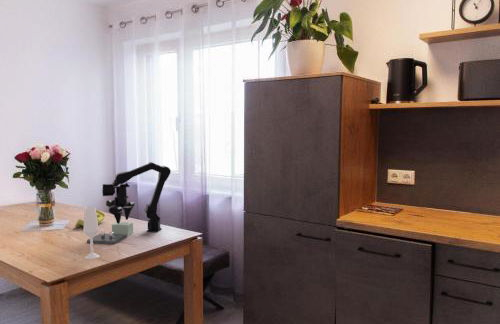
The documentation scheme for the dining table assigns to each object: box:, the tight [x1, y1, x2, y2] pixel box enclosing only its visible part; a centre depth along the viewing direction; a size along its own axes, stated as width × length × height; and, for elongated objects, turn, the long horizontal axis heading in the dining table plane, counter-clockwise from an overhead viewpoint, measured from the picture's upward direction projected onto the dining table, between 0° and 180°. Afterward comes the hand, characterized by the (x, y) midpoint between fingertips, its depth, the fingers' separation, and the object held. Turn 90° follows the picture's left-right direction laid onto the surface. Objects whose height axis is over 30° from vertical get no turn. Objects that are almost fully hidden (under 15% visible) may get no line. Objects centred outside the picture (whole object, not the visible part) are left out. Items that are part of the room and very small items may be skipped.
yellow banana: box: [74, 209, 106, 229], centre depth 245 cm, size 20×7×10 cm
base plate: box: [86, 230, 128, 245], centre depth 212 cm, size 16×13×4 cm
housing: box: [111, 221, 134, 236], centre depth 224 cm, size 10×6×6 cm, turn 79°
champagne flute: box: [82, 205, 100, 260], centre depth 184 cm, size 7×7×24 cm
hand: (122, 221), depth 224 cm, fingers open, 9 cm apart
